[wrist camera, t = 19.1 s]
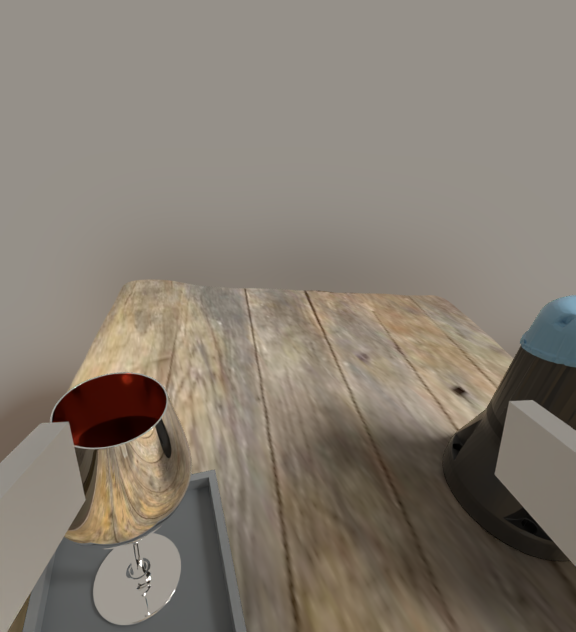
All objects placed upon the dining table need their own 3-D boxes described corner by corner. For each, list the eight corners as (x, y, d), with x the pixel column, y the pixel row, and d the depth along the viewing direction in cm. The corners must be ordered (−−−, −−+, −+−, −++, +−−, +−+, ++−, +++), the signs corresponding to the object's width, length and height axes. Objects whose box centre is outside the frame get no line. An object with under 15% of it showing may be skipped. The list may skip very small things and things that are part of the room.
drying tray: (214, 483, 36) (214, 469, 35) (246, 656, 25) (248, 643, 24) (55, 519, 32) (50, 504, 31) (8, 752, 20) (-2, 741, 19)
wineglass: (87, 538, 30) (41, 367, 21) (187, 513, 33) (183, 354, 24) (71, 662, 23) (-5, 490, 15) (199, 618, 26) (199, 451, 17)
